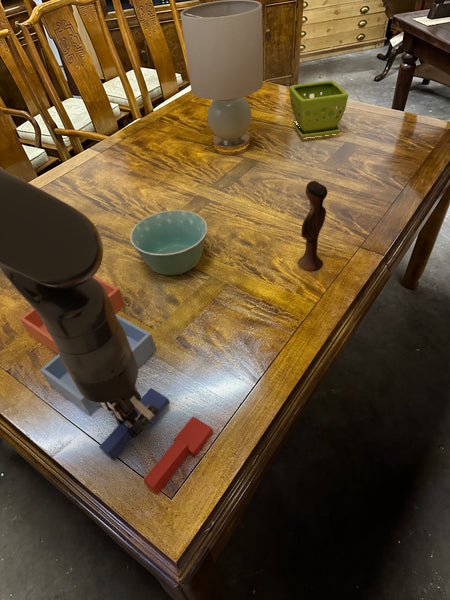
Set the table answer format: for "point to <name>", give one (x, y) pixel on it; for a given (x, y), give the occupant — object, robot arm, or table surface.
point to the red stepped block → (178, 453)
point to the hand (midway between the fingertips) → (133, 428)
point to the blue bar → (121, 435)
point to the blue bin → (64, 383)
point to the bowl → (170, 240)
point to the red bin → (39, 330)
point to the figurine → (313, 226)
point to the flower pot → (318, 108)
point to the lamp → (225, 65)
